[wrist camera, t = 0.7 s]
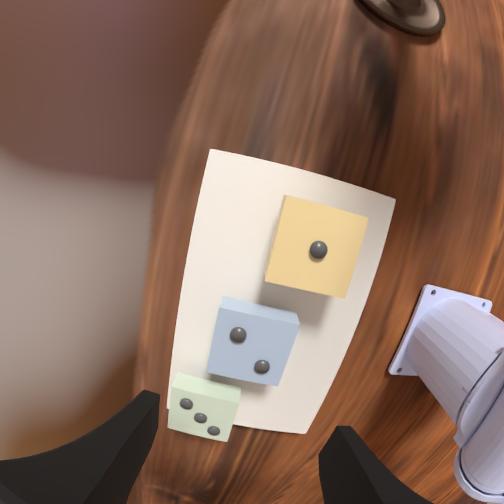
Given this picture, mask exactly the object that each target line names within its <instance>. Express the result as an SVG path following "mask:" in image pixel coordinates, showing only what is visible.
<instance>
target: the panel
mask: <svg viewBox="0 0 504 504" xmlns="http://www.w3.org/2000/svg"><path fill="white" fill-rule="evenodd" d="M283 195H289V196H293V197H297V198H300V199H304V200H308V201H312V202H315V203H319V204H323V205H326V206H330V207H333V208H337V209H340V210H344V211H347V212H350V213H354V214H357V215H360V216H364V217H367V218H369V220H368V224H367V228H366V231H365V235H364V239H363V242H362V246H361V249H360V253H359V256H358V259H357V263H356V266H355V269H354V272H353V275H352V279H351V282H350V285H349V288H348V291H347V294H346V297H345V299H344V298H339V297H335V296H330V295H325V294H321V293H316V292H311V291H307V290H302V289H298V288H293V287H288V286H284V285H280V284H275V283H271V282H266V281H265V278H264V271H265V267H266V263H267V259H268V255H269V251H270V247H271V243H272V239H273V235H274V231H275V227H276V223H277V219H278V215H279V211H280V207H281V203H282V199H283ZM395 202H396V199H393V198H391V197H388V196H385V195H382V194H379V193H376V192H374V191H371V190H368V189H365V188H362V187H359V186H355V185H352V184H349V183H346V182H343V181H340V180H336V179H333V178H330V177H326V176H323V175H319V174H316V173H312V172H309V171H305V170H301V169H298V168H294V167H290V166H286V165H282V164H278V163H274V162H270V161H266V160H261V159H257V158H253V157H248V156H244V155H239V154H234V153H229V152H224V151H219V150H214V149H210V152H209V156H208V160H207V165H206V169H205V173H204V177H203V182H202V186H201V191H200V195H199V200H198V204H197V209H196V214H195V219H194V224H193V229H192V234H191V239H190V244H189V249H188V255H187V260H186V266H185V272H184V277H183V283H182V290H181V296H180V302H179V309H178V316H177V323H176V330H175V337H174V345H173V353H172V361H171V370H170V380H169V389H168V400H167V408H168V409H169V406H170V395H171V386H172V384H173V382H174V379H175V377H176V375H177V373H178V372H179V373H183V374H186V375H190V376H194V377H198V378H201V379H206V380H210V381H214V382H218V383H223V384H227V385H232V386H237V387H241V391H240V402H239V406H238V409H237V412H236V415H235V419H234V422H233V424H235V425H240V426H246V427H252V428H258V429H265V430H273V431H281V432H290V433H301V434H306V432H307V431H308V429H309V427H310V425H311V423H312V422H313V420H314V418H315V416H316V414H317V412H318V410H319V408H320V406H321V404H322V403H323V401H324V399H325V397H326V395H327V393H328V390H329V388H330V386H331V384H332V382H333V380H334V378H335V376H336V374H337V371H338V369H339V367H340V365H341V363H342V360H343V358H344V356H345V354H346V351H347V349H348V347H349V344H350V342H351V339H352V337H353V334H354V332H355V329H356V327H357V324H358V322H359V319H360V317H361V314H362V311H363V309H364V306H365V303H366V300H367V297H368V295H369V292H370V289H371V286H372V283H373V280H374V277H375V274H376V271H377V268H378V264H379V261H380V258H381V254H382V251H383V248H384V244H385V241H386V237H387V233H388V230H389V226H390V222H391V218H392V214H393V210H394V206H395ZM223 296H225V297H229V298H234V299H238V300H242V301H247V302H251V303H255V304H260V305H264V306H269V307H274V308H278V309H283V310H288V311H293V312H296V313H297V316H298V319H299V323H300V326H299V329H298V332H297V335H296V338H295V341H294V344H293V347H292V350H291V352H290V355H289V358H288V361H287V364H286V366H285V369H284V372H283V374H282V377H281V380H280V382H279V385H278V386H272V385H266V384H260V383H255V382H250V381H245V380H240V379H235V378H230V377H226V376H221V375H217V374H213V373H208V372H206V368H207V363H208V358H209V353H210V348H211V343H212V339H213V334H214V329H215V324H216V319H217V315H218V310H219V306H220V303H221V300H222V297H223Z"/></svg>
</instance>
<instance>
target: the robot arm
mask: <svg viewBox="0 0 504 504" xmlns="http://www.w3.org/2000/svg"><path fill="white" fill-rule="evenodd" d="M433 290H434V291H433ZM432 291H433V293H432V294H431V292H432ZM491 307H492V302H491V301H489V300H486V299H483V298H479V297H475V296H471V295H468V294H464V293H460V292H456V291H452V290H448V289H445V288H441V287H437V286H433V285H429V284H427V285H425V286H424V287H423V289H422V291H421V294H420V297H419V300H418V302H417V305H416V307H415V310H414V313H413V315H412V318H411V320H410V322H409V325H408V327H407V330H406V332H405V334H404V336H403V339H402V341H401V343H400V345H399V347H398V350H397V352H396V354H395V356H394V358H393V360H392V362H391V364H390V366H389V368H388V371H389V373H390V374H392V375H409V376H419V377H420V378H421V380H422V381H423V382H424V384H425V385H426V386H427V387H428V389H429V390H430V391H431V393H432V394H433V395H434V397H435V398H436V399H437V401H438V402H439V403H440V405H441V406H442V407H443V409H444V410H445V412H446V413H447V414H448V416H449V417H450V418H451V420H452V421H453V423H454V424H455V425H456V427H457V428H458V430H457V433H456V435H455V436H454V438H453V439H454V440H455V442H456V443H457V445H458V446H459V450H458V452H457V453H456V456H455V459H454V474H455V477H456V480H457V482H458V484H459V485H460V487H461V488H462V489H463V491H464V492H465V493H466V494H468V495H469V496H471V497H472V498H474V499H476V500H479V501H483V502H494V503H499V504H504V322H503V321H501V320H500V319H498V318H497V317H495V316H494V315H492V314H491V313H489V312H490V310H491ZM399 368H400V369H399ZM398 369H399V370H398ZM159 401H160V394H157V393H154V392H150V391H147V390H143V391H141V392H140V393H139V394H138V395H137V396H136V397H135V398H134V399H133V400H132V401H131V402H130V403H129V404H127V405H126V406H125V407H124V408H123V409H121V410H120V411H119V412H118V413H116V414H115V415H114V416H112V417H111V418H110V419H108V420H107V421H106V422H105V423H103V424H101V425H100V426H98V427H97V428H95V429H94V430H92V431H90V432H89V433H87V434H85V435H83V436H82V437H80V438H78V439H76V440H74V441H72V442H70V443H68V444H65V445H63V446H60V447H58V448H55V449H53V450H50V451H47V452H44V453H40V454H36V455H32V456H29V457H23V458H17V459H10V460H1V461H0V504H126V502H127V499H128V496H129V493H130V491H131V488H132V486H133V484H134V482H135V480H136V478H137V476H138V474H139V472H140V470H141V468H142V466H143V464H144V462H145V459H146V457H147V455H148V453H149V451H150V449H151V447H152V444H153V441H154V438H155V435H156V432H157V429H158V418H159ZM319 476H320V481H321V487H322V492H323V497H324V503H325V504H433V503H432V502H430V501H428V500H426V499H425V498H423V497H421V496H420V495H418V494H417V493H415V492H414V491H412V490H411V489H410V488H409V487H407V486H406V485H405V484H403V483H402V482H401V481H400V480H399V479H398V478H396V477H395V476H394V475H393V474H392V473H391V472H390V471H389V470H388V469H387V468H386V467H385V466H384V465H383V464H382V463H381V461H380V460H379V459H378V458H377V457H376V456H375V455H374V454H373V452H372V451H371V450H370V449H369V448H368V446H367V445H366V444H365V443H364V442H363V440H362V439H361V438H360V437H359V436H358V434H357V433H356V432H355V431H354V430H353V428H352V427H351V426H337V427H336V428H335V430H334V432H333V433H332V435H331V436H330V438H329V439H328V441H327V442H326V444H325V446H324V447H323V449H322V450H321V452H320V453H319Z"/></svg>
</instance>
